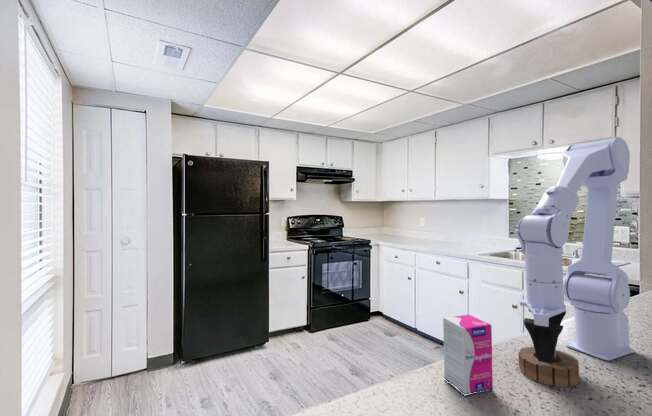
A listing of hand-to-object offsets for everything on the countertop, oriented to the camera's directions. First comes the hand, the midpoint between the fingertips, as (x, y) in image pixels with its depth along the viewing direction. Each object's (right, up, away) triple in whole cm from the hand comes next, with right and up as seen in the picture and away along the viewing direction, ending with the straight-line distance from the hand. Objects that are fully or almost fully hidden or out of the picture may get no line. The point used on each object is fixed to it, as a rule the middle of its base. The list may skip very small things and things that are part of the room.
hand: (547, 353), depth 60 cm
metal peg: (0, -4, 0) cm, 4 cm away
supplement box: (-16, -5, -3) cm, 17 cm away
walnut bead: (0, -4, 0) cm, 4 cm away
